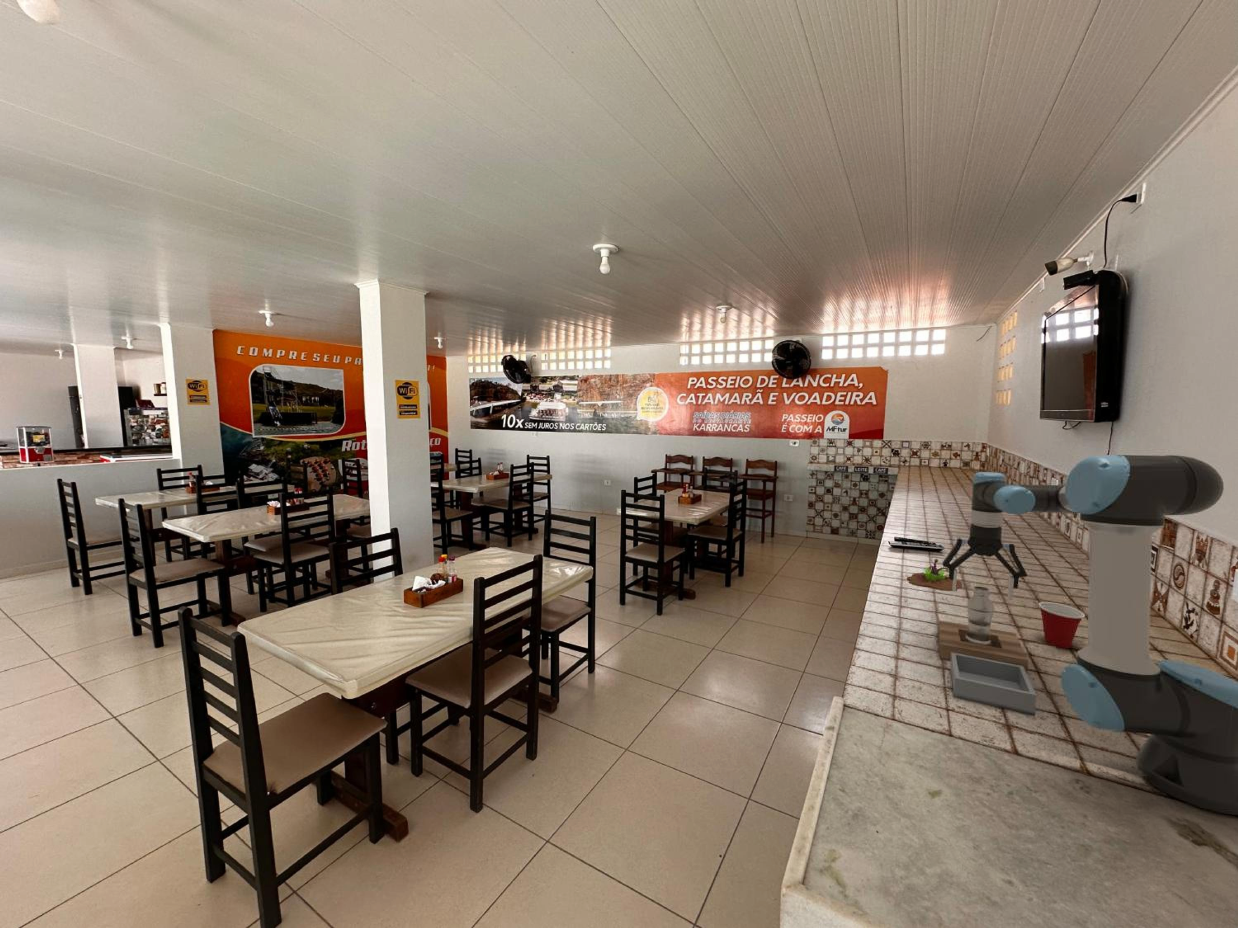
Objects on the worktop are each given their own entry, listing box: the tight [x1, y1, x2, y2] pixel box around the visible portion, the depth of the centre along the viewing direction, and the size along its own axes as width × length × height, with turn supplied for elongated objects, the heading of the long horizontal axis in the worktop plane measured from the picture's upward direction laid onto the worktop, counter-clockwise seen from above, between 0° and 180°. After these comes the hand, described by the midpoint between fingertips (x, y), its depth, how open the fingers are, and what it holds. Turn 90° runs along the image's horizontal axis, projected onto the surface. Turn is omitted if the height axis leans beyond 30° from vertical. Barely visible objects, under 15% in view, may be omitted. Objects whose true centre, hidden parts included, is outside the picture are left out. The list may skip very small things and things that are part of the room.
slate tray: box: [949, 652, 1037, 716], centre depth 129 cm, size 16×16×5 cm
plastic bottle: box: [964, 585, 995, 647], centre depth 149 cm, size 6×7×20 cm
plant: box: [906, 558, 963, 592], centre depth 210 cm, size 20×20×11 cm
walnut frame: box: [937, 619, 1029, 674], centre depth 150 cm, size 20×20×4 cm
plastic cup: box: [1038, 601, 1086, 649], centre depth 154 cm, size 11×11×12 cm
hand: (981, 594), depth 149 cm, fingers open, 13 cm apart
